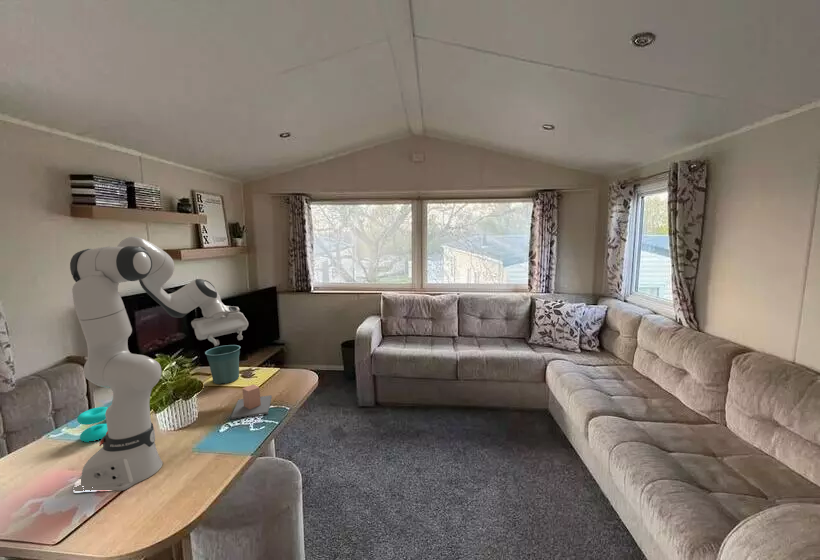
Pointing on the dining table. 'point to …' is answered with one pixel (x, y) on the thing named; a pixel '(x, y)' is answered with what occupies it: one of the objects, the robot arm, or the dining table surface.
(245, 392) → the terracotta block
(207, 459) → the dining table surface
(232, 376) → the flower pot
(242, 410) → the slate board
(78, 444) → the dining table surface
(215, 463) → the dining table surface
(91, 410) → the donuts
